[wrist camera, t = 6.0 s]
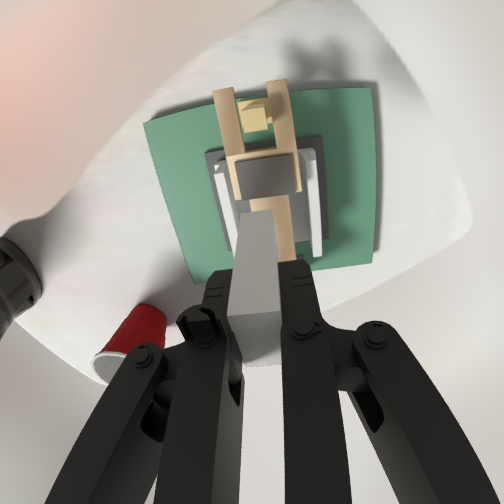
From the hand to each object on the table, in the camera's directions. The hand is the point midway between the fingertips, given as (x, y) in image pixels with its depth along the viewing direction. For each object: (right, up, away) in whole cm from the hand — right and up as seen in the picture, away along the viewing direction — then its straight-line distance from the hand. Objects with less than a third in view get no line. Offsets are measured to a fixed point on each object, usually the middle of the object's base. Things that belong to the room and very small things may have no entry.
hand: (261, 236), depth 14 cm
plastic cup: (-16, -11, +27) cm, 33 cm away
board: (+2, +6, +15) cm, 16 cm away
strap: (+1, +2, +9) cm, 9 cm away
